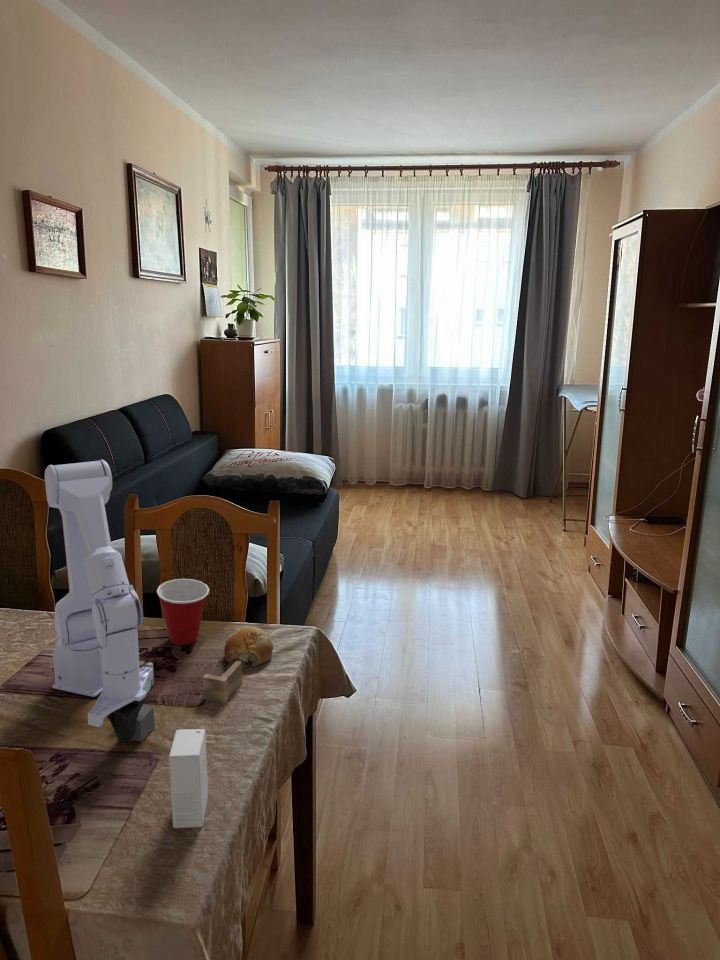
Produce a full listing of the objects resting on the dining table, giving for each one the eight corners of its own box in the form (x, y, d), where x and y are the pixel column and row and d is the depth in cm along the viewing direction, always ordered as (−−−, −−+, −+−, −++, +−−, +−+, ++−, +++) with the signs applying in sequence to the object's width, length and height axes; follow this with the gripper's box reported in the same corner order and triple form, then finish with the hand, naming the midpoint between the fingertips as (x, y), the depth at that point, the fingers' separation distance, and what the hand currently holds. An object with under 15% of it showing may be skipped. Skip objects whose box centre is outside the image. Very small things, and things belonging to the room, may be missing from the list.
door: (142, 681, 128) (141, 661, 127) (155, 682, 128) (154, 662, 127) (118, 718, 117) (116, 697, 116) (131, 719, 117) (130, 697, 116)
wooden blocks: (130, 683, 128) (128, 662, 127) (151, 664, 135) (150, 644, 134) (225, 703, 123) (224, 681, 122) (242, 682, 130) (242, 661, 128)
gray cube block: (120, 737, 112) (118, 716, 111) (134, 723, 116) (132, 703, 115) (141, 741, 111) (140, 720, 110) (154, 727, 115) (153, 707, 114)
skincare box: (179, 798, 99) (176, 728, 96) (208, 797, 100) (206, 727, 97) (171, 829, 94) (168, 756, 90) (202, 828, 94) (200, 755, 91)
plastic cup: (186, 657, 138) (184, 603, 135) (148, 642, 143) (145, 591, 140) (221, 635, 147) (220, 585, 144) (184, 623, 152) (182, 574, 149)
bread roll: (277, 672, 140) (287, 634, 141) (247, 673, 132) (258, 633, 133) (241, 658, 145) (251, 622, 146) (210, 658, 137) (221, 619, 138)
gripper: (113, 694, 99) (119, 772, 103) (167, 648, 113) (170, 718, 116) (73, 685, 101) (80, 763, 104) (130, 641, 114) (135, 710, 118)
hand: (125, 739), depth 110 cm, fingers closed
